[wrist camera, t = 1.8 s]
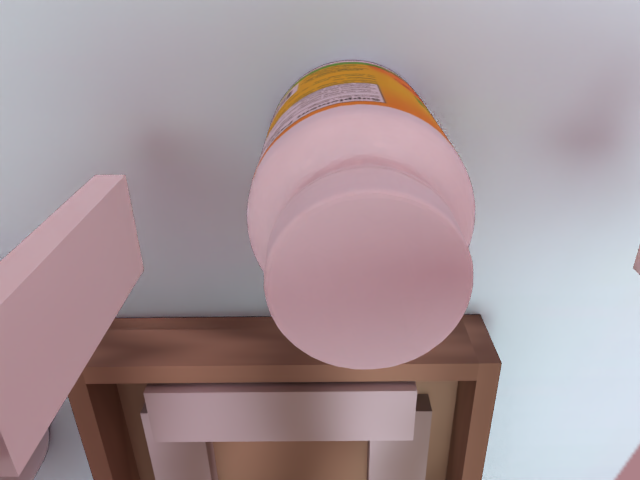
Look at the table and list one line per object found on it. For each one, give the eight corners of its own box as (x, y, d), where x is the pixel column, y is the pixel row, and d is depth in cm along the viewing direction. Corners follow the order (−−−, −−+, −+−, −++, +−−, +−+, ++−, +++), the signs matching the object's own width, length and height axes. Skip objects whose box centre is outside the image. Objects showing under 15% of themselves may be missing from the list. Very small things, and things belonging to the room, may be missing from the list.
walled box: (146, 534, 29) (126, 600, 26) (90, 318, 22) (55, 372, 19) (449, 533, 29) (463, 599, 26) (480, 314, 22) (504, 369, 19)
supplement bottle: (438, 189, 20) (528, 369, 11) (296, 223, 20) (275, 419, 12) (410, 37, 17) (497, 114, 9) (250, 82, 18) (181, 196, 9)
